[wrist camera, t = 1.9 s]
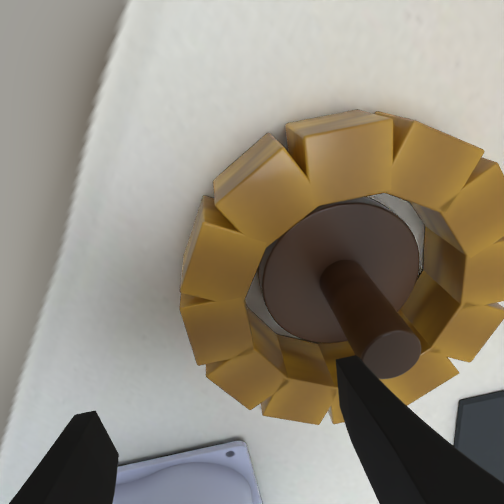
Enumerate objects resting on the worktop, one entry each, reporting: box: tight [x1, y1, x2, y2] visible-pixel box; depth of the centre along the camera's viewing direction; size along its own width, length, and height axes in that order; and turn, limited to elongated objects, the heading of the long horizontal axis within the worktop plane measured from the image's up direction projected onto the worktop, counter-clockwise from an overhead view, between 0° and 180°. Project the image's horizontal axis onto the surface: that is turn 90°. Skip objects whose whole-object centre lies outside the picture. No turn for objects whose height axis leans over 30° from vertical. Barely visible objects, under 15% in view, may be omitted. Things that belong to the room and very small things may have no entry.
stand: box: [259, 197, 421, 379], centre depth 14 cm, size 7×7×6 cm
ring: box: [180, 110, 504, 425], centre depth 16 cm, size 13×13×3 cm
